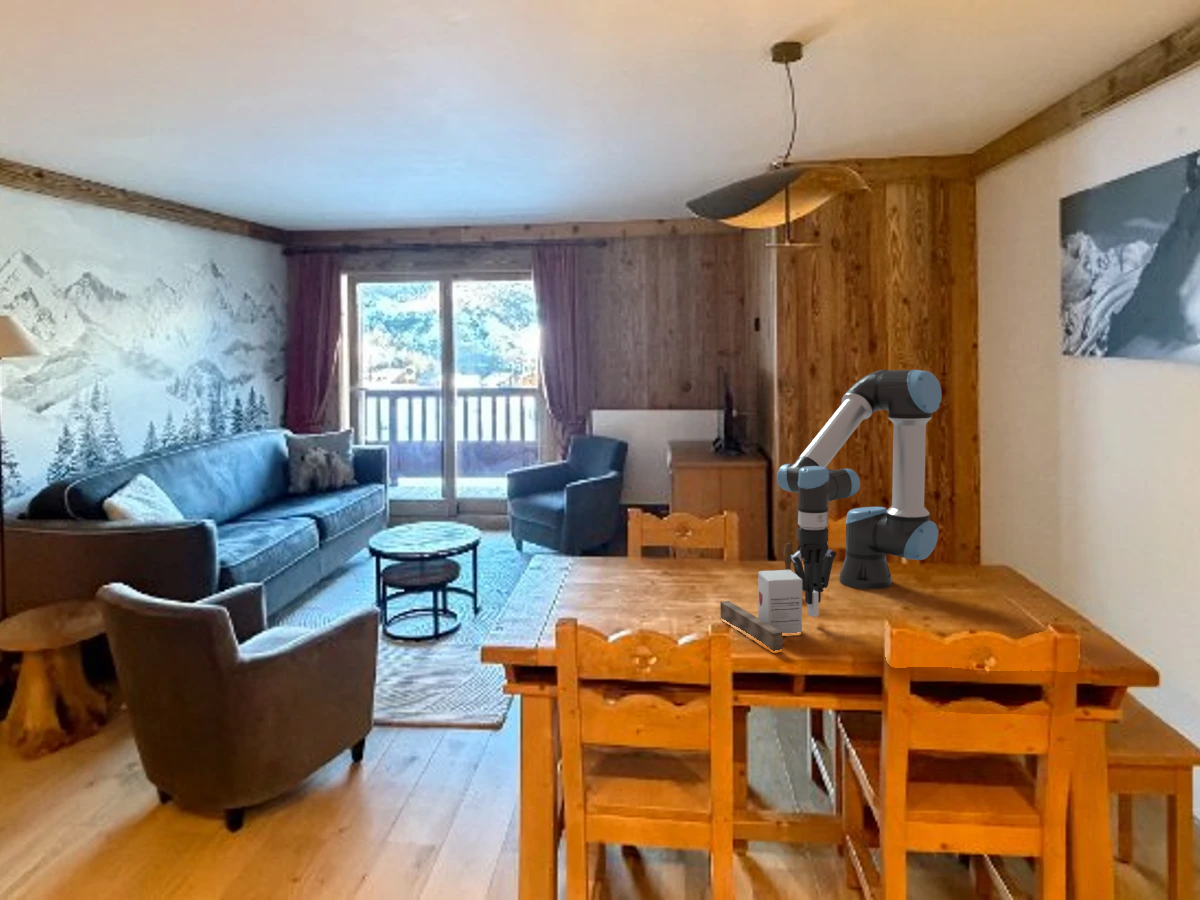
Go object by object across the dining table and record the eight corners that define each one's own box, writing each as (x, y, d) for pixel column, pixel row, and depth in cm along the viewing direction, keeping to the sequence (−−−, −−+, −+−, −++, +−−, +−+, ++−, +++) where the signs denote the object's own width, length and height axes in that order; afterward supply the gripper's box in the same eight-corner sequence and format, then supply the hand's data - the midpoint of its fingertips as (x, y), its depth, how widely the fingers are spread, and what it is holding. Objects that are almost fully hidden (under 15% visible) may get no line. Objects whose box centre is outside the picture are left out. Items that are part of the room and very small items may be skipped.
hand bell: (804, 594, 234) (804, 541, 232) (798, 602, 227) (799, 547, 225) (776, 591, 238) (776, 538, 236) (769, 599, 231) (769, 545, 228)
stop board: (720, 620, 214) (720, 602, 213) (728, 618, 215) (728, 600, 214) (773, 654, 190) (773, 633, 189) (782, 652, 191) (782, 632, 190)
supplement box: (757, 626, 209) (757, 570, 207) (790, 624, 210) (790, 568, 208) (767, 638, 200) (768, 580, 198) (802, 636, 201) (803, 578, 199)
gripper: (799, 532, 200) (799, 623, 203) (843, 527, 204) (842, 616, 207) (783, 526, 207) (783, 614, 210) (825, 521, 211) (825, 607, 214)
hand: (812, 615), depth 208 cm, fingers closed
